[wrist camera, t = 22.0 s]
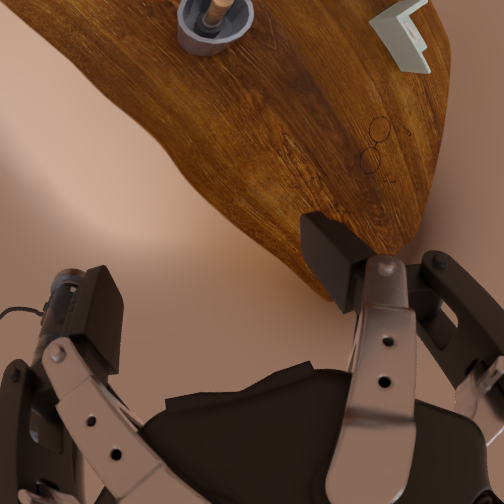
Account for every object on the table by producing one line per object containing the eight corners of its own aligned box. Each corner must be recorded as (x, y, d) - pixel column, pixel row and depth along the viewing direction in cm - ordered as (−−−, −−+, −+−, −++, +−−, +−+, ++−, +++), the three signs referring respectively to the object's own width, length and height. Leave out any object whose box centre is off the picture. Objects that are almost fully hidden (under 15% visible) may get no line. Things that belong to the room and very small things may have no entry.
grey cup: (180, 61, 30) (182, 49, 22) (173, 13, 25) (174, -11, 17) (238, 52, 31) (258, 40, 23) (231, 5, 27) (249, -18, 19)
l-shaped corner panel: (401, 71, 37) (429, 73, 31) (368, 21, 31) (395, 16, 25) (427, 47, 35) (453, 48, 29) (398, 1, 28) (425, -3, 22)
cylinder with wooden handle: (195, 42, 29) (207, 15, 17) (192, 21, 27) (202, -14, 15) (220, 39, 29) (244, 12, 18) (217, 18, 27) (240, -16, 16)
